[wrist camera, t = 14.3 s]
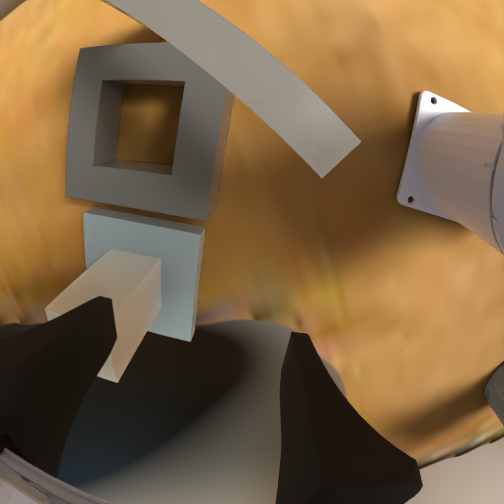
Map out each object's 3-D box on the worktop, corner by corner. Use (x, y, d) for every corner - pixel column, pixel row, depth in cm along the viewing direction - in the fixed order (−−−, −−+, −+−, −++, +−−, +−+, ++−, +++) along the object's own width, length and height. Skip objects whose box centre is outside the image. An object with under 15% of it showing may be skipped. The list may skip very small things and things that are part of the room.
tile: (205, 227, 21) (200, 234, 19) (194, 330, 24) (190, 341, 23) (93, 206, 21) (83, 212, 19) (99, 304, 24) (91, 313, 23)
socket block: (241, 58, 16) (234, 46, 13) (216, 207, 20) (205, 221, 17) (103, 55, 16) (80, 48, 13) (89, 186, 20) (65, 196, 17)
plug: (161, 257, 20) (105, 327, 13) (161, 306, 22) (117, 382, 15) (110, 248, 20) (44, 308, 13) (114, 295, 22) (61, 362, 15)
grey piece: (150, 29, 15) (55, -23, 6) (171, 8, 14) (89, -60, 5) (297, 153, 18) (316, 183, 8) (320, 131, 17) (365, 137, 8)
